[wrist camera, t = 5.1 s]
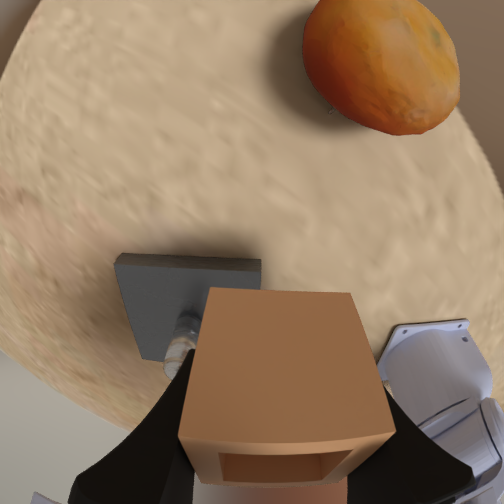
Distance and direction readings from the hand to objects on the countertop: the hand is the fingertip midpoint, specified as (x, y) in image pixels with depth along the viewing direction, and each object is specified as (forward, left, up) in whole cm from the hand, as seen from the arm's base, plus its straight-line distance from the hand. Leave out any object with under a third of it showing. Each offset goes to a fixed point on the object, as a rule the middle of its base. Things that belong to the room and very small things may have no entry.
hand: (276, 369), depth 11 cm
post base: (+6, +6, -9) cm, 12 cm away
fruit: (-5, -12, -10) cm, 17 cm away
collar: (0, 0, -2) cm, 2 cm away
